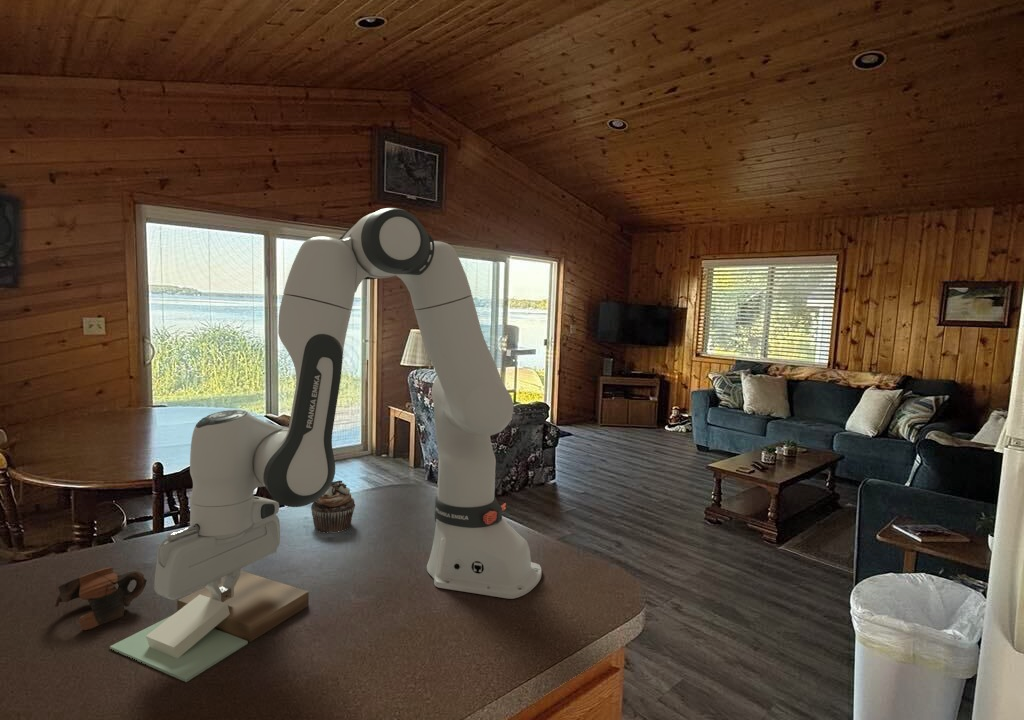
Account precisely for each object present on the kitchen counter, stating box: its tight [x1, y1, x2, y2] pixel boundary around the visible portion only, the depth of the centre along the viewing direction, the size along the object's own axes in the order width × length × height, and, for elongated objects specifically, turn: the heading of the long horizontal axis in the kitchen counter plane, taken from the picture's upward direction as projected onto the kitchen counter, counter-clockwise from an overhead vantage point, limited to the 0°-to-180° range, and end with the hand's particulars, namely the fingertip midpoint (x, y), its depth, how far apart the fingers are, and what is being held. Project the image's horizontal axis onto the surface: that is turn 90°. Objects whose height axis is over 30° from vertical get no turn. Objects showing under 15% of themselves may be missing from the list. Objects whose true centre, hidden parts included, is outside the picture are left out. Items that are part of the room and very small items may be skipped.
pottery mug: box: [54, 566, 148, 631], centre depth 93 cm, size 12×10×8 cm
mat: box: [109, 615, 249, 683], centre depth 85 cm, size 16×10×1 cm, turn 66°
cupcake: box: [310, 480, 356, 534], centre depth 132 cm, size 10×10×10 cm
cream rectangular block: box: [146, 595, 230, 659], centre depth 86 cm, size 9×6×2 cm, turn 156°
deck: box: [176, 569, 310, 643], centre depth 95 cm, size 16×12×2 cm
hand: (222, 600), depth 92 cm, fingers closed
